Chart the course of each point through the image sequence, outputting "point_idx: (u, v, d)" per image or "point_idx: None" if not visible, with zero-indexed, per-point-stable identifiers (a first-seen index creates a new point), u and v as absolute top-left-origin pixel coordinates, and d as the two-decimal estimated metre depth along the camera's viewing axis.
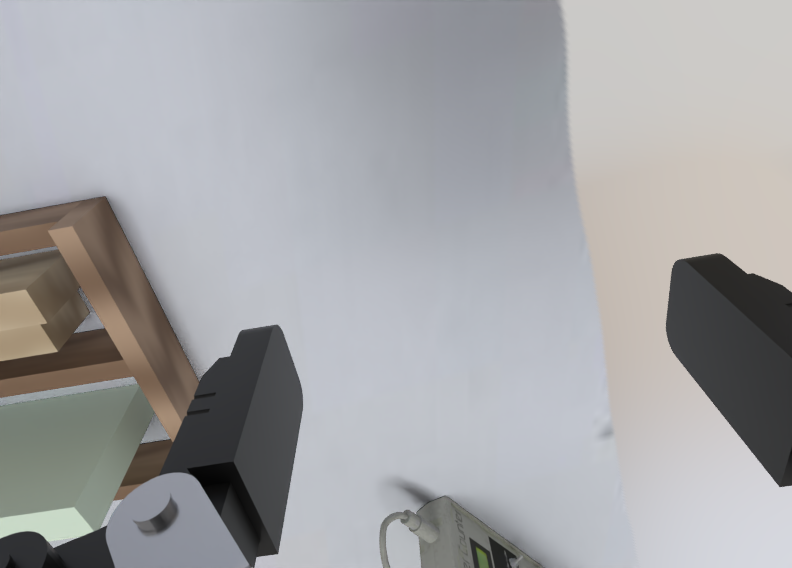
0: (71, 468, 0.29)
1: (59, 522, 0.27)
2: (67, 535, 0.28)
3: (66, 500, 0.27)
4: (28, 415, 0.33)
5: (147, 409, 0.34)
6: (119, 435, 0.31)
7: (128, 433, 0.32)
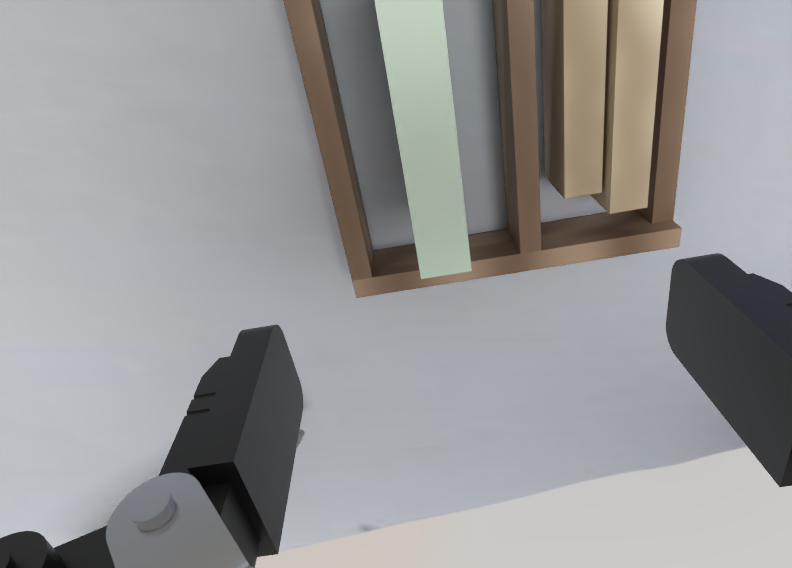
0: None
1: (447, 249, 0.24)
2: (421, 250, 0.24)
3: None
4: None
5: None
6: None
7: None
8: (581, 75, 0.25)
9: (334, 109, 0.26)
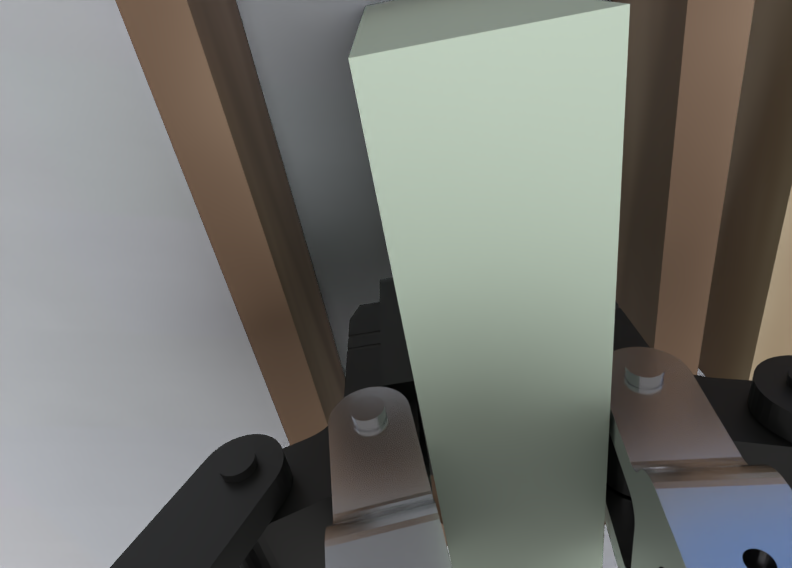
0: None
1: None
2: None
3: None
4: None
5: None
6: None
7: None
8: None
9: (276, 272, 0.12)
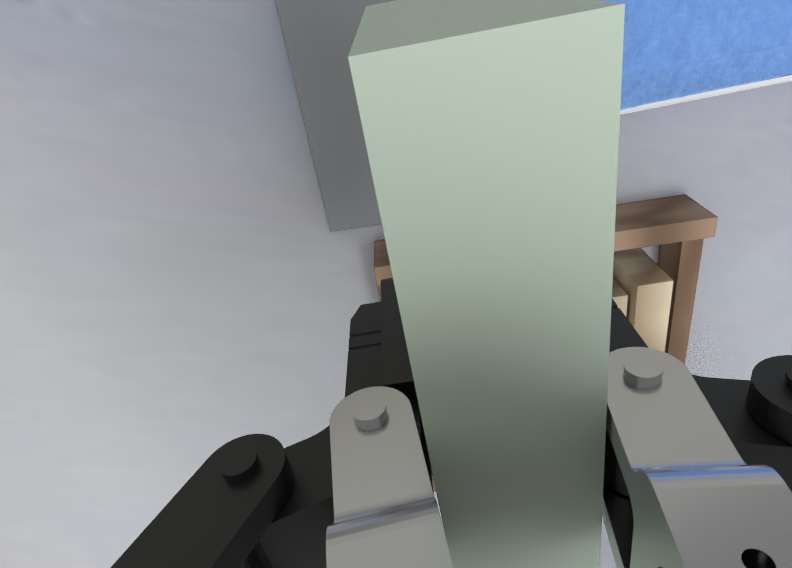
0: None
1: None
2: None
3: None
4: None
5: None
6: None
7: None
8: None
9: None
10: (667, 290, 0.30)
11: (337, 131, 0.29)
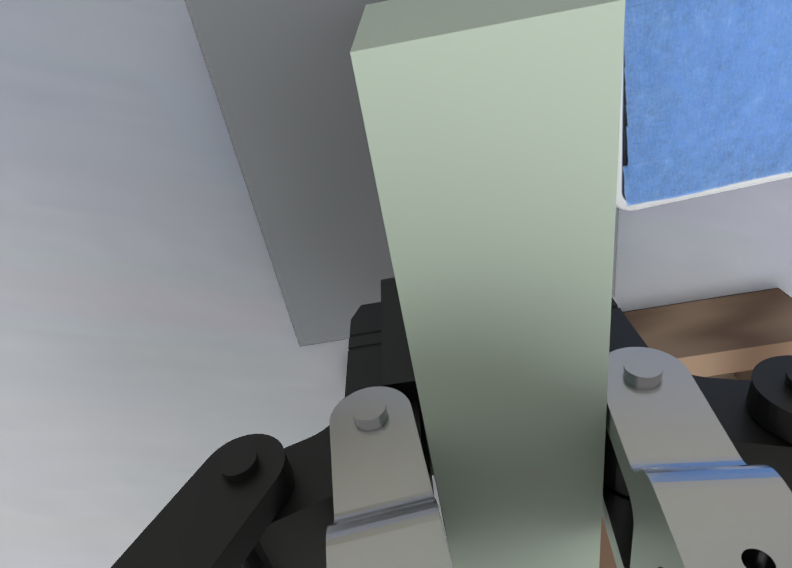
0: None
1: None
2: None
3: None
4: None
5: None
6: None
7: None
8: None
9: None
10: None
11: (303, 222, 0.20)
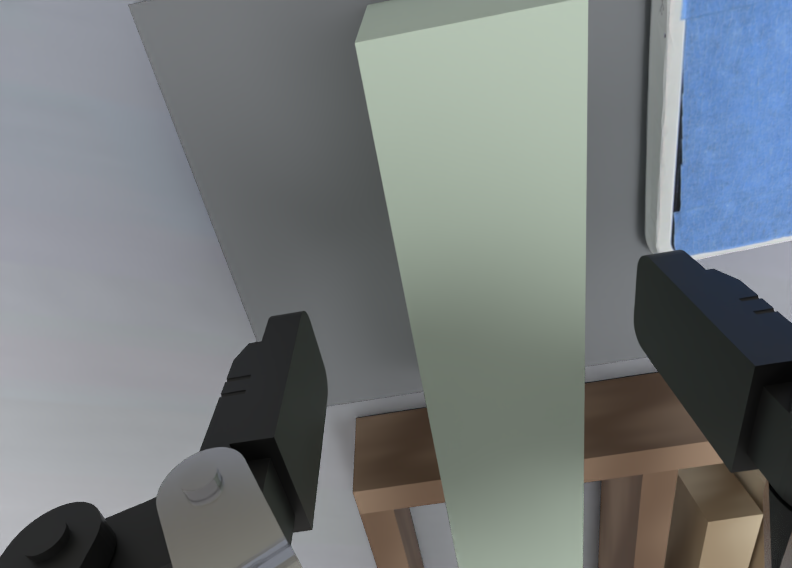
0: None
1: None
2: None
3: None
4: None
5: None
6: None
7: None
8: None
9: None
10: None
11: (286, 275, 0.17)
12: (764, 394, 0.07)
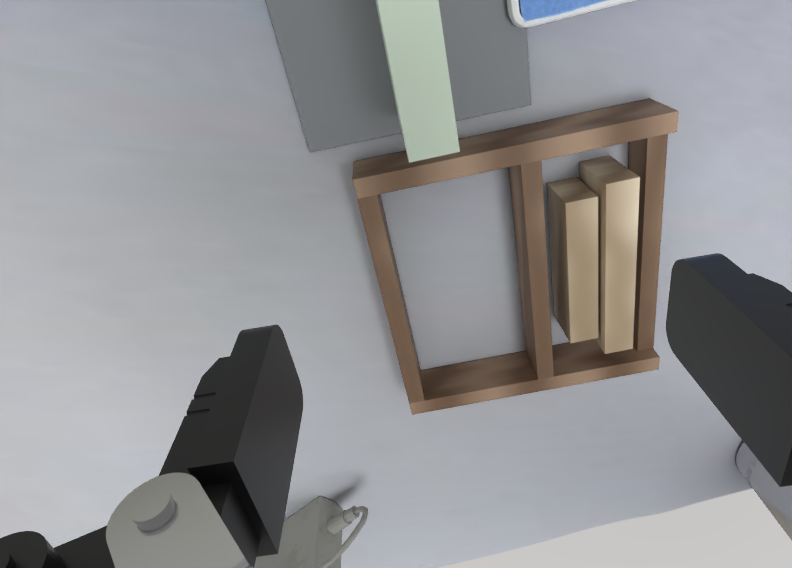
0: None
1: (433, 127, 0.24)
2: (408, 129, 0.24)
3: None
4: None
5: None
6: None
7: None
8: (580, 266, 0.34)
9: (399, 295, 0.35)
10: (635, 187, 0.31)
11: (310, 47, 0.30)
12: None
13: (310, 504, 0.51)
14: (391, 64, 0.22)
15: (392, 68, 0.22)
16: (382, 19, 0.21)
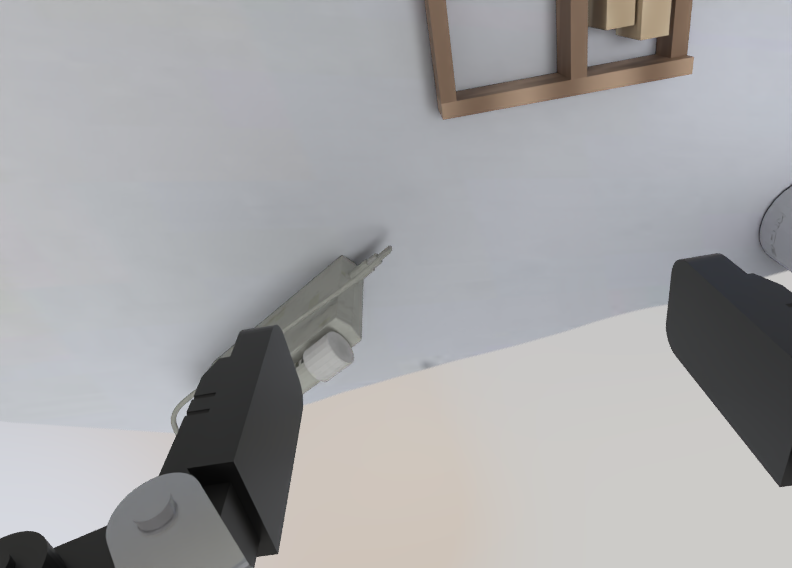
0: None
1: None
2: None
3: None
4: None
5: None
6: None
7: None
8: None
9: None
10: None
11: None
12: None
13: (332, 264, 0.50)
14: None
15: None
16: None
